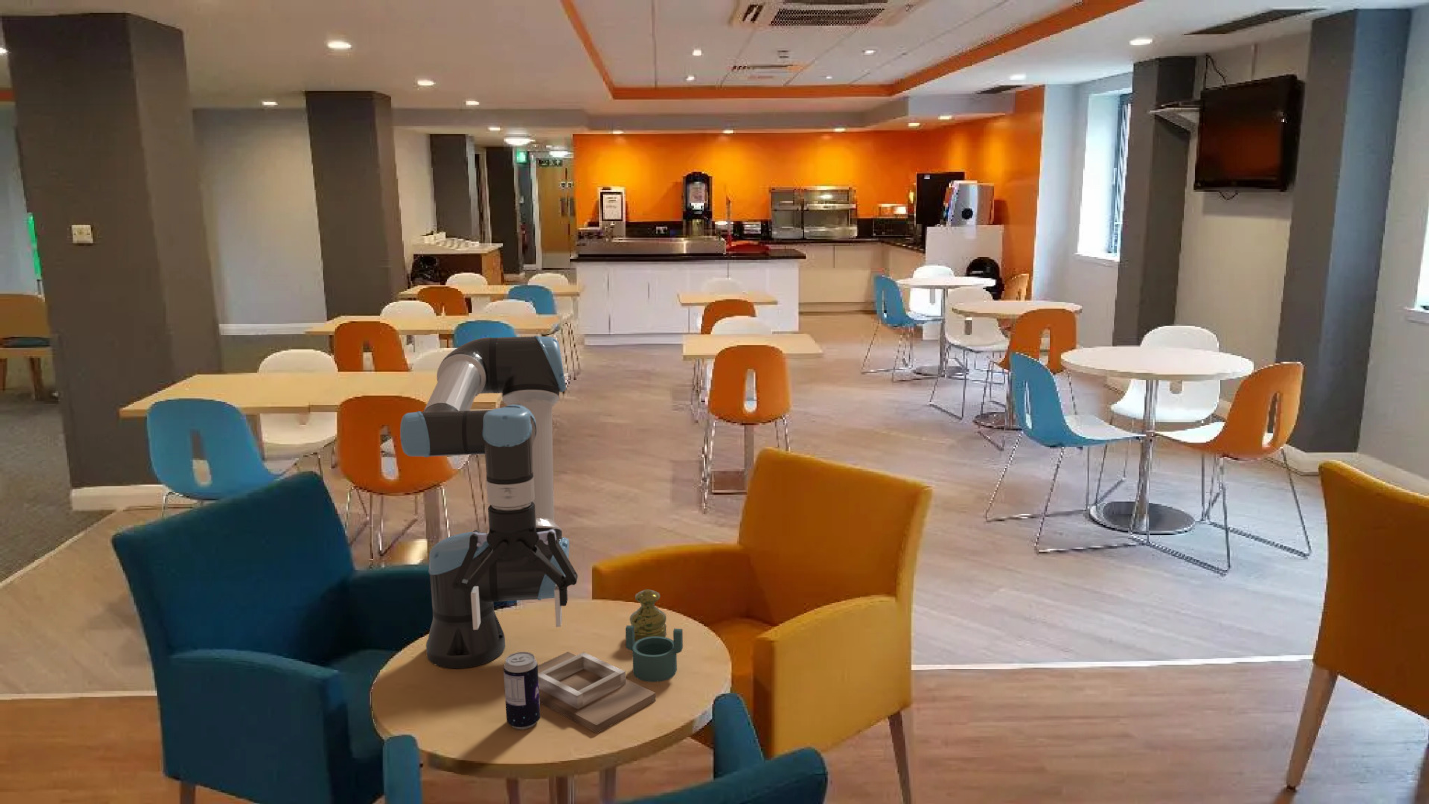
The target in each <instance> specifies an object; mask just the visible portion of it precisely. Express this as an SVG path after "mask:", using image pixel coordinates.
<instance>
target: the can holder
mask: <svg viewBox="0 0 1429 804" xmlns="http://www.w3.org/2000/svg"><path fill="white" fill-rule="evenodd" d="M626 677H627V676H626V671H625V670H623V669H621V668H618V667H617V666H614V665H613V664H610V663H608V662H606V661H604V660H601V659H600V658H597V657H595V656H594V655H591V654H589V653H587V652H584V651H583V652H581V653H579V654H577V655H576V654H574V653H572V652H569V651H566V652H564V653H562V654H560V655H558V656H556V657H553V658H552V659H551V658H550V659H549V660H547V661H545V662H543V663H540V664H538V682H539V701H540V704H541V705H543V706H544V707H545V706H546V707H547V708H549V709H551V710H552V711H555V712H556V711H557V713H559V714H560V715H562V716H564V717H566V718H568V719H570V720H571V721H574V722H575V723H577V724H579V725H580V726H582V727H585V728H587V729H588V730H590V731H592V732H593V733H595V734H598V733H599V732H602V731H603V730H605V729H607V728H608V727H610V726H613V725H614V724H616V723H618V722H619V721H622V720H623V719H625V718H627V717H629V716H631V715H632V714H634V713H636V712H638V711H639V710H641V709H643V708H644V707H645V708H646V706H648V705H650V704H652V703H653V702H655V701H656V700H657V698H656V694H657V693H656V692H654V691H652V690H651V689H648V688H646V687H644V686H642V685H640V684H638V683H636V682H633V681H631V680H630V679H627V678H626Z"/></svg>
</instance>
